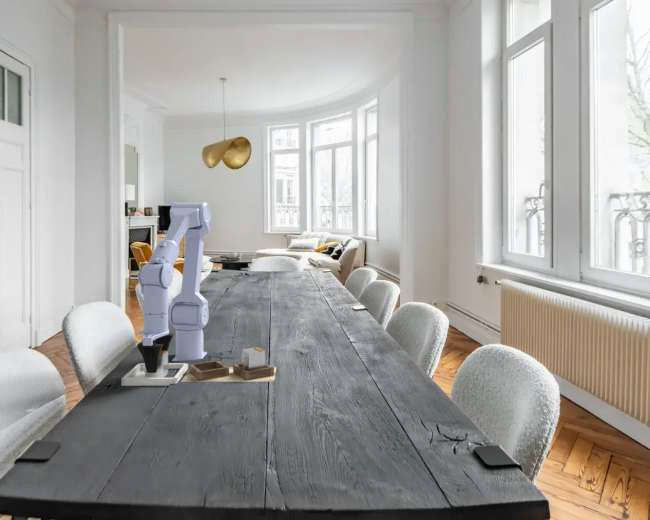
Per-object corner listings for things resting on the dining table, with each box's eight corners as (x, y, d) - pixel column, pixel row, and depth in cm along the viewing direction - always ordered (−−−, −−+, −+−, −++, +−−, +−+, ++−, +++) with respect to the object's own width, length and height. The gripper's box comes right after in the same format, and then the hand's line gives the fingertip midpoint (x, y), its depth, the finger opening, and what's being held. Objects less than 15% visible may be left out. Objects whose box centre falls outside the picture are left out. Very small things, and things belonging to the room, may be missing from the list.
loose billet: (150, 374, 124) (149, 349, 124) (168, 374, 124) (167, 349, 124) (144, 379, 120) (144, 354, 119) (163, 379, 120) (163, 354, 120)
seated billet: (241, 372, 125) (241, 348, 125) (257, 370, 127) (257, 346, 127) (248, 377, 121) (248, 352, 121) (265, 374, 124) (265, 350, 123)
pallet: (191, 370, 130) (191, 359, 129) (276, 370, 131) (276, 359, 131) (180, 385, 118) (180, 373, 117) (274, 385, 119) (274, 373, 119)
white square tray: (138, 371, 128) (138, 363, 128) (188, 371, 129) (188, 363, 129) (121, 388, 116) (121, 378, 115) (176, 387, 116) (176, 378, 116)
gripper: (148, 307, 128) (148, 359, 129) (129, 318, 113) (129, 376, 114) (175, 307, 128) (176, 359, 129) (160, 318, 114) (160, 376, 115)
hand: (156, 367), depth 122 cm, fingers open, 7 cm apart
